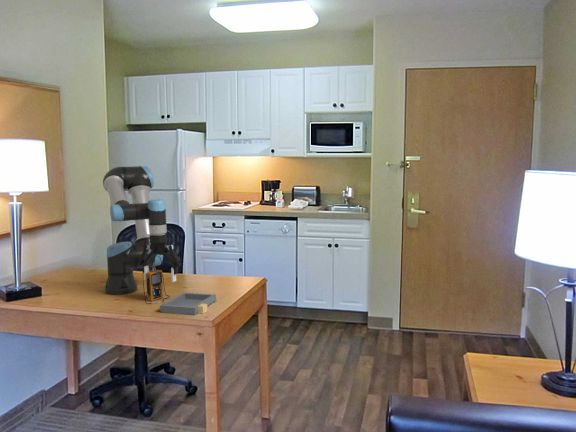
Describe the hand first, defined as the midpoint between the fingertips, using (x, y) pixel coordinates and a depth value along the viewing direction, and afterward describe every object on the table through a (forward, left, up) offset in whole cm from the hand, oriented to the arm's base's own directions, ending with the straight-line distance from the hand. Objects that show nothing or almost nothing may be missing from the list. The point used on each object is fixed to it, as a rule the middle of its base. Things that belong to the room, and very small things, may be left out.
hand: (160, 280), depth 230 cm
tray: (+18, -6, -9) cm, 21 cm away
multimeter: (0, 0, -9) cm, 9 cm away
